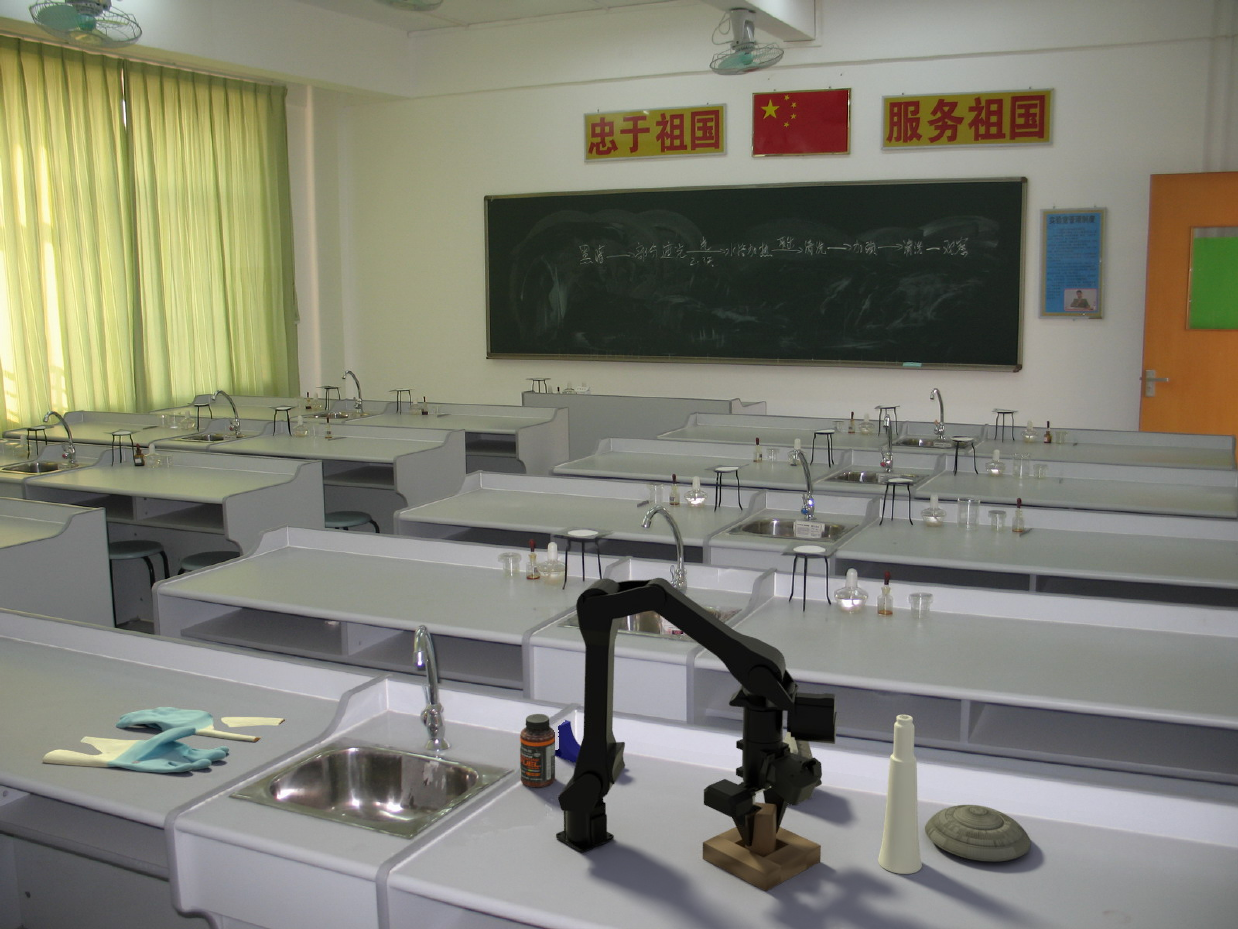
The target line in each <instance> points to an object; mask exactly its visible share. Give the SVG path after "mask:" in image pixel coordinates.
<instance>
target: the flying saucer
mask: <svg viewBox="0 0 1238 929" xmlns="http://www.w3.org/2000/svg"><path fill="white" fill-rule="evenodd" d="M924 830H925V834H926V836H927V838H928V839H929V840H930V841H931V842H932V843H933V844H934V845H936V846H937V847H938V848H941V850H943V851H946V852H948V853H950V854H953V855H955V856H958V857H961V858H965V859H969V860H973V861H980V862H1004V861H1005V862H1006V861H1011V860H1015V859H1018V858H1020V857H1021V856H1023V855H1025V854H1027V852H1028V851H1029V850H1030V848H1031V847H1032V846H1031V845H1032V841H1031V838H1030V836H1029V833H1027V831H1026V830H1025V829H1024V827H1022V825H1021V824H1020V823H1018V821H1017V820H1015V819H1014V818H1012V817H1011V816H1009V815H1008V814H1005V813H1004V812H1002V811H1000V810H997V809H994V808H992V807H988V806H983V805H977V804H960V805H959V804H958V805H953V806H949V807H946V808H943V809H941V810H939V811H938V812H936V813H935V814H933V815H932V816H931V817H930V818H929V820H927V822H926V824H925V826H924Z"/></svg>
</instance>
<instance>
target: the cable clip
mask: <svg viewBox="0 0 1238 929" xmlns="http://www.w3.org/2000/svg"><path fill="white" fill-rule="evenodd" d="M564 720H565V722H563V723H562V724H561V725H559V726H558V730H559V732H558V733H559V736H558V737H559V749H558V750H555V757H557V758H561V759H563V760H566V761H569V762H572V763H573V764H576V759H577V756H578V753H579V750H580V746H581V744H579V742H578V740H577V739H576V737H575V735H574V733H573V729H572V722H571V720H567V719H564Z"/></svg>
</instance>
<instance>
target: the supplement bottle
mask: <svg viewBox="0 0 1238 929" xmlns="http://www.w3.org/2000/svg"><path fill="white" fill-rule="evenodd" d="M550 724H551V723H550V717H549V715H547V714H545V713H544V714H543V713H534V714H533V713H532V714H529V715H528V716H526V717H525V724H524V725H525V727H524V728H523V729H522V730H521V731H520V734H519V735H520V736H519V745H520V746H519V747H520V748H519V753H520V755H519V758H520V760H519V764H520V769H519V772H520V775H519V776H520V781H521V783H522V784H523V785H525V786H527V787H531V788H543V787H547V786H550V785H551V784H553V783H554V782H555V780H556V756H555V732H554V730H553V727H551V726H550Z"/></svg>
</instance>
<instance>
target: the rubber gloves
mask: <svg viewBox="0 0 1238 929" xmlns="http://www.w3.org/2000/svg"><path fill="white" fill-rule="evenodd" d="M213 717H214V716H213V714H212V713H210V712H207V711H205V710H198V709H181V708H177V707H174V706H158V707H155V708H154V709H150V708H149V709H142V710H141V709H140V710H136V711H133V712H129V713H125V714H123V715H121V716H120V717H119V721H118V722H117V723H116V728H119V729H125V728H127V727H131V726H134V725H143V724H145V726H148V727H150V728H153V729H157V730H160V731H162V732H160V733H158V734H156V735H154V736H152V737H151V738H150V739H147V740H146V739H129V740H128V739H116V738H103V737H94V736H93V737H92V736H83V738H82V739H80V743H85V744H89V745H92V746H93V747H94V748H95V749H96V750H98V751H100V752H101V753H100V754H93V755H91V754H88V753H82V752H80V751H79V752H78V751H73V750H66V749H55V750H51V751H50V752H47V753H46V754H45V755H44V756H43V758H42V759H41V761H42V763H45V764H46V763H47V764H52V765H53V764H55V765H63V766H64V765H65V766H75V767H93V768H94V767H95V768H109V767H110V768H112V767H115V768H116V767H119V768H123V769H128V770H131V771H136V772H146V773H147V772H148V773H150V772H151V773H158V774H159V773H161V774H162V773H163V774H164V773H184V772H188V771H196V770H197V771H198V770H204V769H209V767H211V766H212V763H213V762H216V761H220V760H224V759H225V758H226V757H227V754H228V753H229V752H230V749H229V747H228V746H225V745H221V746H218V747H216V748H211V749H207V748H206V749H202V748H193V747H191V745H188V744H187V743H184V742H180V741H178V740H181V739H184V738H188V737H191V736H193V735H196V736H205V737H212V738H220V739H226V740H235V741H245V742H251V743H255V742H257V741H259V740H260V739H261V738H263V737H262V736H254V735H247V734H246V735H245V734H238V733H231V732H226V731H220V730H216V729H215V727H214V724H215V722H214V719H213ZM220 719H221V722H222V723H224V724H225V725H227V726H228V728H240V727H252V726H254V727H255V726H279V725H280V724H281V723H283V722H284V721H285V720H286V719H285V718H279V717H262V716H260V717H259V716H246V717H245V716H224V717H220ZM135 761H139V762H138V763H133V762H135Z"/></svg>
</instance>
